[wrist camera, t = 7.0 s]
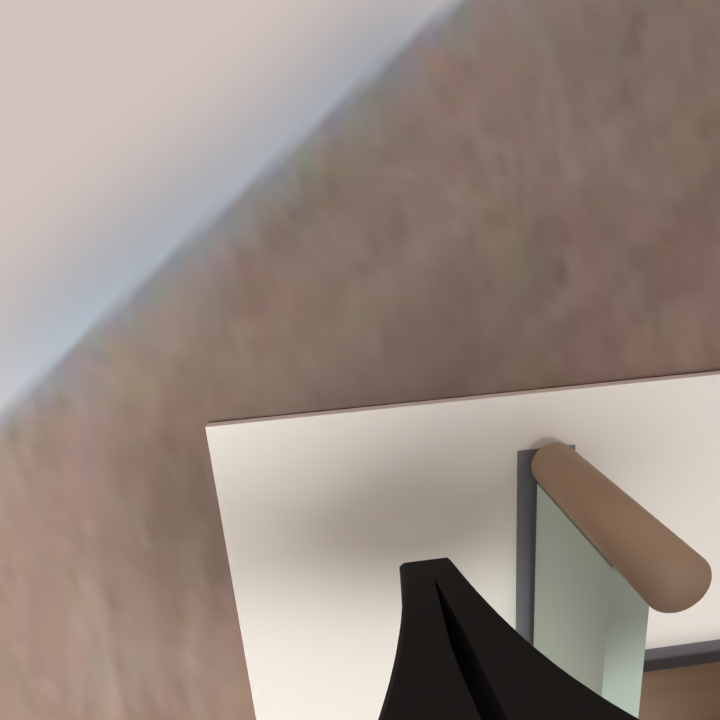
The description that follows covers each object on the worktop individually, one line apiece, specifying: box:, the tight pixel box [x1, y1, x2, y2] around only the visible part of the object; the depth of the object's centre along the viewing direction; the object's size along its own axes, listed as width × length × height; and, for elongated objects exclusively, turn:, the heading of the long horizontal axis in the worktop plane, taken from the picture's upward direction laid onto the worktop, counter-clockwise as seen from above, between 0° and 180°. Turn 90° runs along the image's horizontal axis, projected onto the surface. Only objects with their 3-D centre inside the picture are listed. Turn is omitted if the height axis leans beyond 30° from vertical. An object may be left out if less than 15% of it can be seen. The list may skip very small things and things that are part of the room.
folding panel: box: [531, 442, 712, 718], centre depth 12 cm, size 8×1×5 cm, turn 4°
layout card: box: [205, 371, 720, 720], centre depth 17 cm, size 20×22×1 cm
